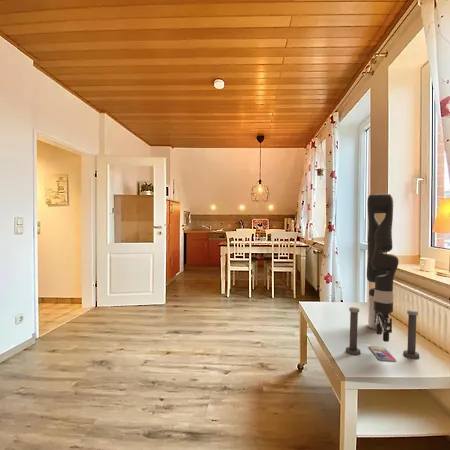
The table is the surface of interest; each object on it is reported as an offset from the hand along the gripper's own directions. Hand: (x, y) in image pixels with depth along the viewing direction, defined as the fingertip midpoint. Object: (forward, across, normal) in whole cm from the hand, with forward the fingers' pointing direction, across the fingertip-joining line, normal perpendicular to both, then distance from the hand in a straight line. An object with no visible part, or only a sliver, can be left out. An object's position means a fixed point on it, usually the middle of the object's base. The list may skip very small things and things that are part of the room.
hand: (382, 337), depth 146 cm
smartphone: (+8, 0, 0) cm, 8 cm away
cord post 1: (+7, 0, -12) cm, 14 cm away
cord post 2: (+7, 0, +12) cm, 14 cm away
